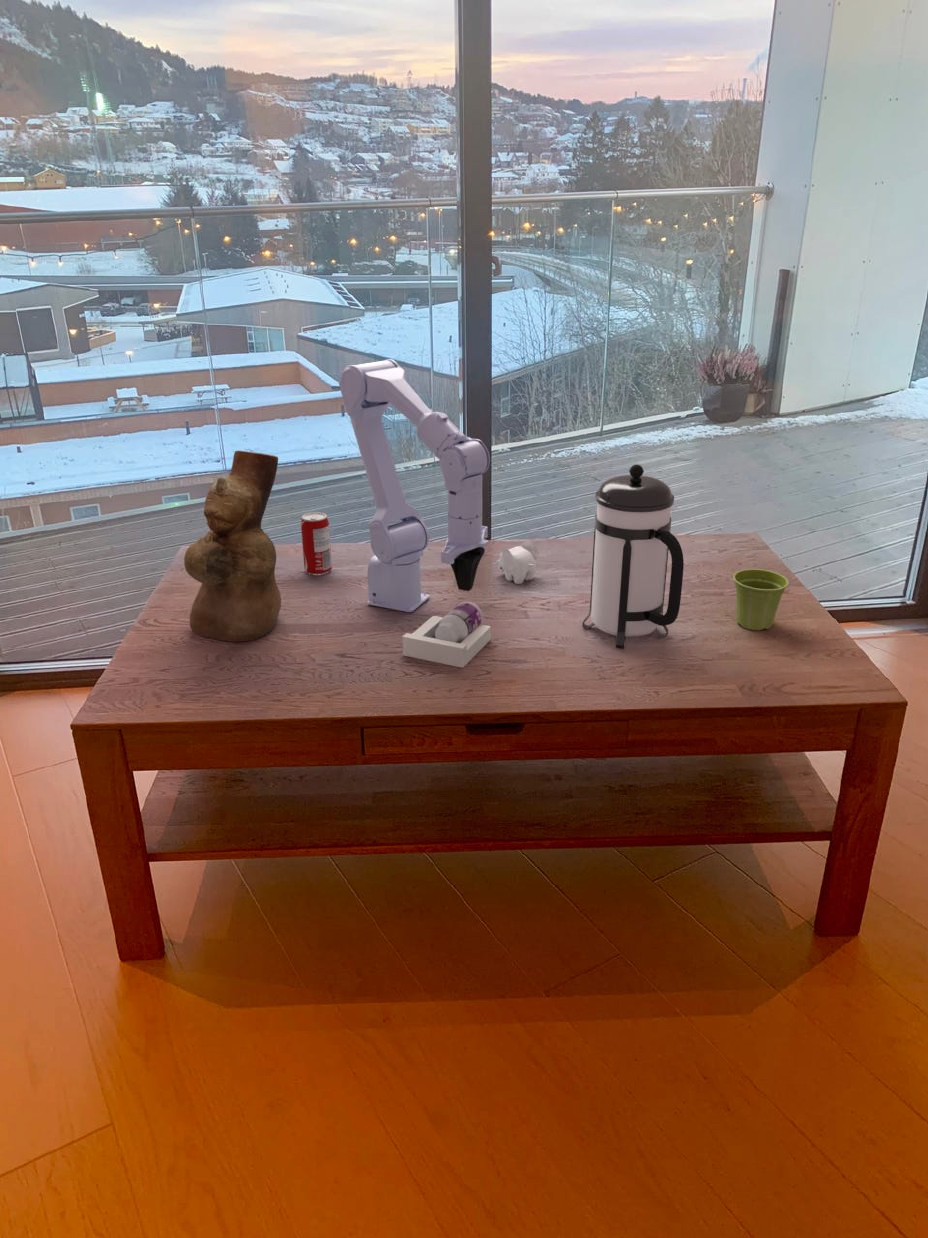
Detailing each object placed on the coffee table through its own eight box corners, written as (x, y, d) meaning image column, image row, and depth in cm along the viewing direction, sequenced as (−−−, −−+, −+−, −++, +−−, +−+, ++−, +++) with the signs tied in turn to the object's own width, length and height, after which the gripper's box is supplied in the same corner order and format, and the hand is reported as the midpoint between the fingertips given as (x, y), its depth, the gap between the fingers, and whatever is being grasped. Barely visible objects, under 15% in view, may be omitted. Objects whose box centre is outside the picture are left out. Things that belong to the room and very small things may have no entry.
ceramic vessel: (172, 633, 166) (147, 466, 154) (252, 590, 184) (236, 437, 171) (243, 652, 159) (223, 479, 147) (319, 605, 177) (307, 447, 164)
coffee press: (571, 645, 161) (579, 474, 148) (592, 609, 175) (601, 449, 162) (673, 661, 155) (691, 484, 143) (687, 622, 169) (704, 458, 156)
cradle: (403, 655, 158) (402, 636, 156) (433, 628, 167) (433, 610, 166) (462, 667, 154) (462, 648, 152) (490, 639, 163) (490, 621, 162)
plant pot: (785, 618, 171) (792, 573, 167) (778, 639, 163) (784, 592, 159) (732, 609, 174) (738, 565, 171) (723, 629, 166) (728, 584, 163)
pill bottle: (482, 632, 165) (457, 655, 157) (455, 623, 167) (429, 646, 159) (485, 605, 162) (461, 627, 155) (458, 596, 164) (432, 617, 156)
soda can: (309, 565, 195) (304, 509, 190) (335, 566, 195) (331, 510, 190) (301, 575, 190) (296, 518, 185) (327, 576, 190) (323, 519, 185)
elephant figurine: (510, 566, 194) (510, 533, 191) (546, 578, 188) (547, 545, 185) (484, 576, 189) (485, 543, 186) (521, 589, 183) (522, 555, 180)
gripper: (468, 530, 150) (468, 608, 156) (504, 504, 162) (502, 577, 168) (428, 524, 153) (430, 601, 159) (466, 499, 165) (466, 571, 171)
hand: (465, 588), depth 163 cm, fingers closed
